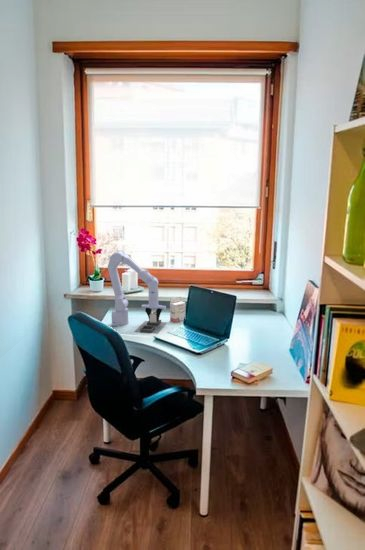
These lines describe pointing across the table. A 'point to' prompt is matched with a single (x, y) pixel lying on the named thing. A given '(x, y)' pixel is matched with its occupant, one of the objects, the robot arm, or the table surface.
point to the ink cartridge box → (177, 309)
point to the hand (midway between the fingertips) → (154, 320)
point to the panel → (151, 327)
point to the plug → (153, 318)
